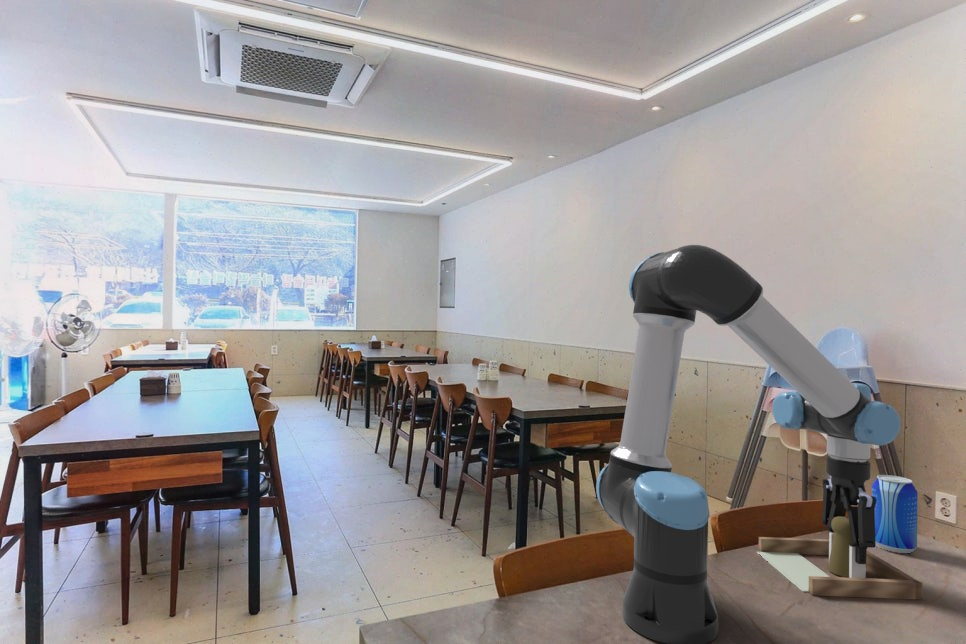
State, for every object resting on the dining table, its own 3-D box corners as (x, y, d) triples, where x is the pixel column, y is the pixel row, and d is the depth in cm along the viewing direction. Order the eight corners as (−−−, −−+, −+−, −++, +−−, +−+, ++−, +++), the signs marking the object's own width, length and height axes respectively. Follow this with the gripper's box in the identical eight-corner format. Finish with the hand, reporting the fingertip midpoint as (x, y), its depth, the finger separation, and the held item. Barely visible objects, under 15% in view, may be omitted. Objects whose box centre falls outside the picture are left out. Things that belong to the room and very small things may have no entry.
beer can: (877, 538, 131) (878, 472, 131) (921, 549, 125) (921, 479, 125) (866, 546, 126) (867, 477, 126) (911, 558, 119) (912, 485, 120)
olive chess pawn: (869, 580, 107) (870, 524, 107) (835, 576, 108) (836, 521, 109) (854, 567, 113) (855, 515, 113) (822, 564, 114) (824, 512, 115)
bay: (812, 595, 101) (812, 579, 101) (758, 550, 122) (758, 536, 122) (922, 599, 100) (922, 583, 100) (849, 553, 121) (849, 540, 121)
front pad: (802, 591, 102) (802, 590, 102) (756, 552, 120) (756, 551, 120) (851, 593, 102) (851, 592, 102) (797, 554, 120) (797, 553, 120)
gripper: (900, 469, 102) (899, 594, 101) (838, 448, 121) (836, 553, 120) (860, 468, 102) (858, 592, 101) (803, 447, 121) (802, 551, 120)
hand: (846, 570), depth 111 cm, fingers closed on olive chess pawn, 6 cm apart
